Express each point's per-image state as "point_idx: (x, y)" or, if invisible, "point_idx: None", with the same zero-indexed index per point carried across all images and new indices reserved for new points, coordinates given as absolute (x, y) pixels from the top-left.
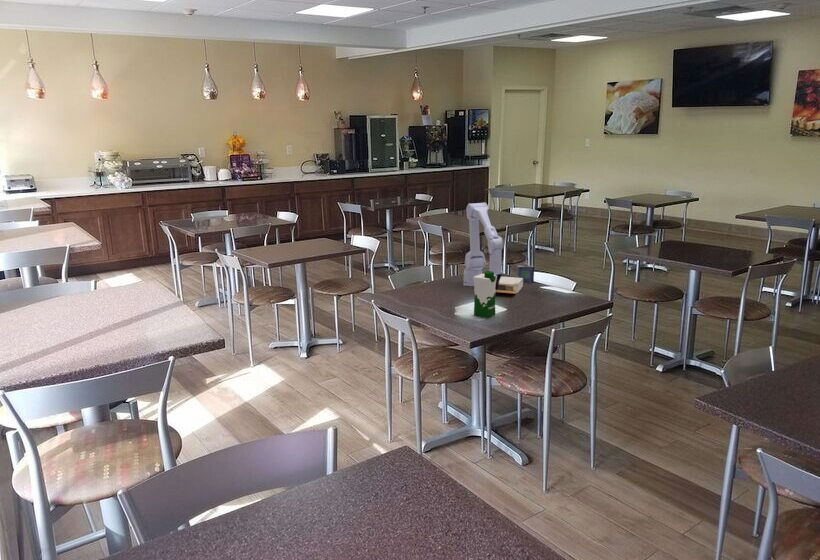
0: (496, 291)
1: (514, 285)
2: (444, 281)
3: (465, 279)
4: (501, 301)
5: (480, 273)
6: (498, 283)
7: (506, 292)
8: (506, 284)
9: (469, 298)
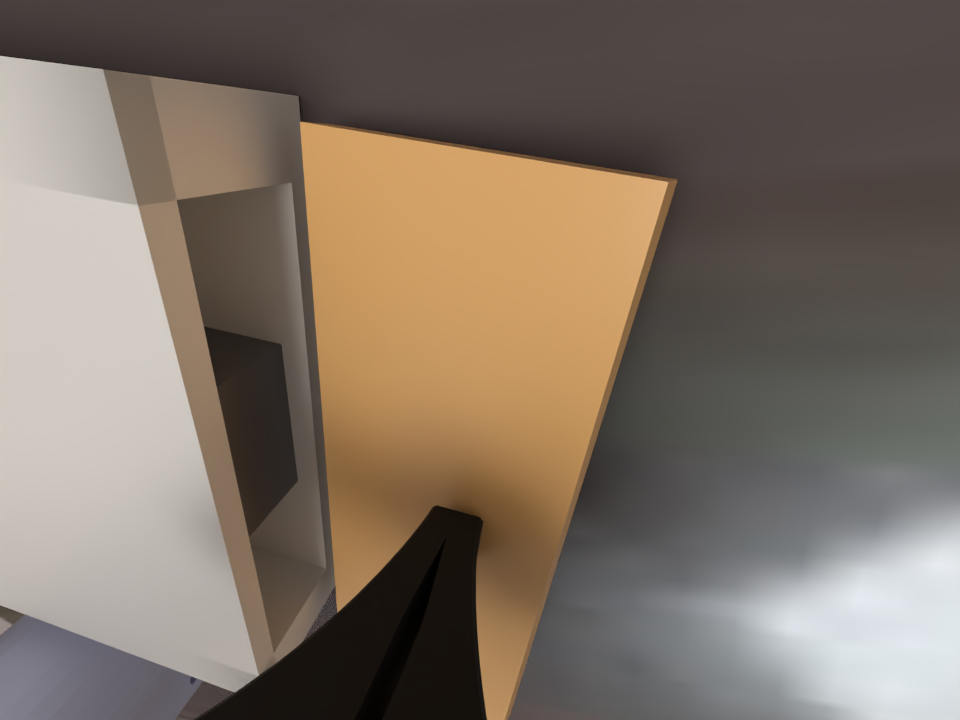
0: (568, 518)
1: (160, 176)
2: (188, 714)
3: (174, 708)
4: (837, 378)
5: (18, 700)
6: (397, 593)
7: (623, 344)
8: (197, 373)
9: (637, 690)
